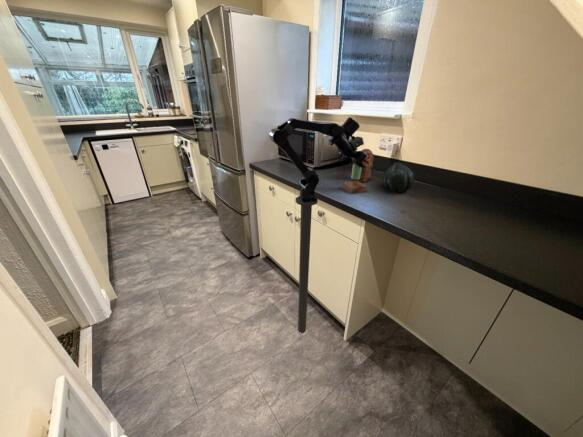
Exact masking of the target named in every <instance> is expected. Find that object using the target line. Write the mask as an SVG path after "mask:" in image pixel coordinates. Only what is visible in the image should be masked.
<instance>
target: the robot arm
mask: <svg viewBox="0 0 583 437" xmlns="http://www.w3.org/2000/svg"><path fill="white" fill-rule="evenodd" d="M359 129H360V123H359V122H357V121H356V120H355V119H354V118H352V117H349V116H348V117H347V119H346V120H345V121H344V123H343V124H342V125H340V124H338V123H335V122H331V121H321V122H315V121H309V120H304V119H297V118H294V117H290V118H288V119H287V120H285V122H283V123H282V124H280V125H278V126H277V127H275V128H271V130H270V131H269V135H268V136H269V137H268V138H269V139H270V141H271V142H273V143H274V144H275V145H276V146H277V147H278V148H280V149H281V150H282V151H283V153H284V154H285V155H286V156H287V158H288V159H289V160H290V161H291V162H292V164H293V165H294V167H295V168H296V169H297V170H298V172H299V173H300V176H301V179H299V181H298V185H299V186H300V187H299V196H300V197H298V196H297V197H298V199H300V200H301V201H302V202H303V203H306V202H311V201H315V199H313V198H314V197H315V190H316V188H317V186H318V185H319V182H320V178H319V176H320V175H319V174H317V172H316V170H315V169H314V168H313V167H311V166H309V167H308V166H307V165H306V164H305V163H304V161H303V160H302V159H301V157H300V156H299V155H298V153H297V152H296V151H295V150H294V148H293V146H292V145H291V143H290V140H289V137H290V136H291V134H292V133H293V132H294V131H295V130H302V131H309V132H316V133H320V134H322V135H325V136H328V137H331V138H328V145H330V146H333V145H335V147H336V148H337V152H336V155H337V157H339V158H342V159H343V160H345V161H346V162H349V163H351V164H352V165H353V164H355V165H357V166H360V167H363V163H362V161H363V160H364V159H365V158H366V157H367V154H366V153H365V152H363V151H361V150H358V148H359V147H361V146H364V145H365V143H364V138H363V136H355V135H354V134H355V133H356V132H357V131H358V130H359ZM348 137H349V140H348Z"/></svg>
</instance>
